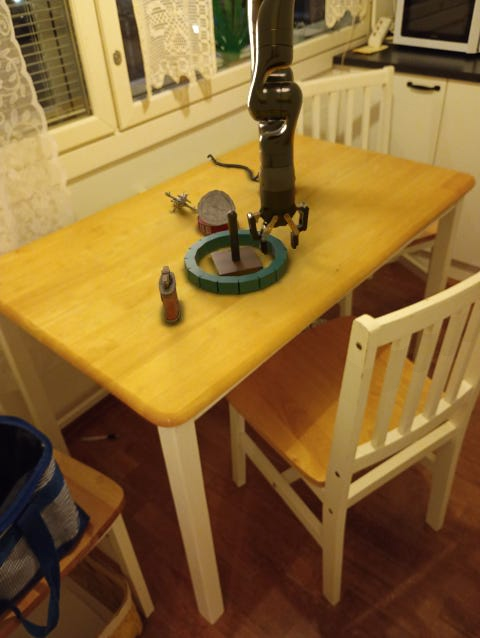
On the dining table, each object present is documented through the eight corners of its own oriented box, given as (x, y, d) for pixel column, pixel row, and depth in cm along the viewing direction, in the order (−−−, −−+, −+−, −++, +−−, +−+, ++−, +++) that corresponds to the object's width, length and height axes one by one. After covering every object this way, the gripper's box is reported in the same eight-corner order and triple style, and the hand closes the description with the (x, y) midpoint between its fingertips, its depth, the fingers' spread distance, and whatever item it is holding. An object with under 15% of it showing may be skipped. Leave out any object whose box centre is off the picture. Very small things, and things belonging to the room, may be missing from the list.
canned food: (235, 235, 142) (250, 206, 135) (218, 250, 134) (233, 220, 128) (201, 212, 143) (215, 182, 136) (182, 225, 135) (196, 194, 129)
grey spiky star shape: (194, 200, 151) (204, 201, 142) (185, 219, 151) (194, 221, 143) (164, 183, 146) (172, 182, 138) (154, 202, 147) (161, 203, 138)
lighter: (165, 301, 112) (157, 261, 106) (180, 300, 112) (174, 260, 106) (163, 325, 105) (155, 283, 99) (180, 323, 105) (173, 282, 99)
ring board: (210, 258, 124) (204, 205, 116) (251, 250, 126) (247, 197, 118) (220, 280, 117) (214, 225, 108) (263, 272, 118) (260, 216, 110)
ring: (178, 250, 128) (177, 239, 127) (269, 233, 132) (269, 222, 130) (196, 303, 110) (195, 291, 109) (301, 281, 114) (301, 269, 112)
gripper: (303, 170, 116) (302, 237, 126) (240, 181, 114) (245, 248, 124) (315, 183, 110) (314, 252, 120) (249, 195, 108) (253, 264, 118)
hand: (279, 250), depth 122 cm, fingers open, 6 cm apart
